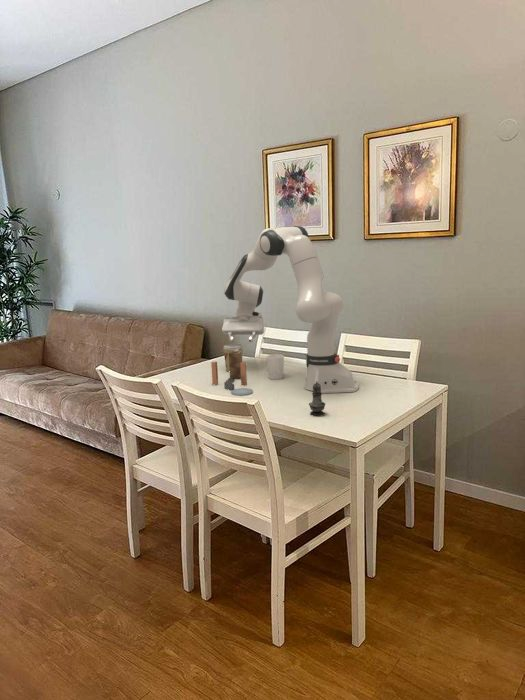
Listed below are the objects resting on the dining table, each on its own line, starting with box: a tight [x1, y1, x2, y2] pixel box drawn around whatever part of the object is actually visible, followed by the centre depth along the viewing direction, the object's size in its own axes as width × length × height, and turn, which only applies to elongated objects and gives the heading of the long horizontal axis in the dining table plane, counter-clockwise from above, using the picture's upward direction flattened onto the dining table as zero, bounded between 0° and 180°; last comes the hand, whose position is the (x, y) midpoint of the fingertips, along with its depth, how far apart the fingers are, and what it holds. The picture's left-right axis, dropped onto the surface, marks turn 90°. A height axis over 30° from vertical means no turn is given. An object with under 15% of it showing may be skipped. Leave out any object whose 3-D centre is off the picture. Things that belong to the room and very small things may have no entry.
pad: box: [230, 387, 254, 397], centre depth 215 cm, size 9×9×1 cm
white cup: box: [265, 353, 285, 380], centre depth 235 cm, size 8×8×10 cm
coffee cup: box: [223, 343, 244, 372], centre depth 252 cm, size 9×9×12 cm
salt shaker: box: [308, 381, 326, 417], centre depth 184 cm, size 6×6×12 cm
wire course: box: [210, 361, 248, 391], centre depth 225 cm, size 15×15×10 cm
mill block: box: [229, 349, 243, 380], centre depth 237 cm, size 5×5×13 cm
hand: (240, 341), depth 246 cm, fingers open, 8 cm apart
